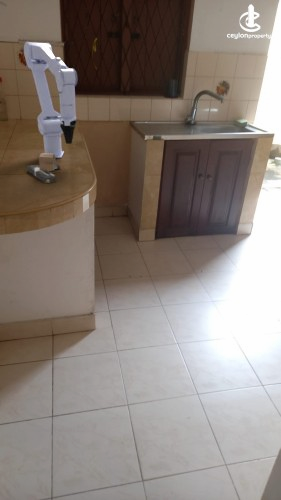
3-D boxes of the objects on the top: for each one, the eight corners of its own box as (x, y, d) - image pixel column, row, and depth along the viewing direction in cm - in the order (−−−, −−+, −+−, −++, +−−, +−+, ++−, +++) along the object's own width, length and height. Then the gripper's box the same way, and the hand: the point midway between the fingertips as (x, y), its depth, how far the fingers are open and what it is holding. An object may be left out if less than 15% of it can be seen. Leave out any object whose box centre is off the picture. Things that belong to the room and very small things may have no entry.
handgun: (53, 160, 143) (25, 164, 136) (75, 172, 131) (45, 178, 124) (54, 166, 144) (25, 170, 137) (75, 179, 132) (46, 184, 126)
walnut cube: (42, 165, 136) (41, 153, 133) (55, 166, 136) (54, 153, 134) (40, 170, 132) (38, 156, 129) (53, 170, 132) (52, 157, 129)
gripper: (58, 101, 139) (60, 136, 145) (55, 107, 126) (57, 145, 133) (76, 102, 139) (78, 137, 146) (74, 107, 127) (76, 145, 134)
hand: (69, 141), depth 140 cm, fingers open, 7 cm apart
